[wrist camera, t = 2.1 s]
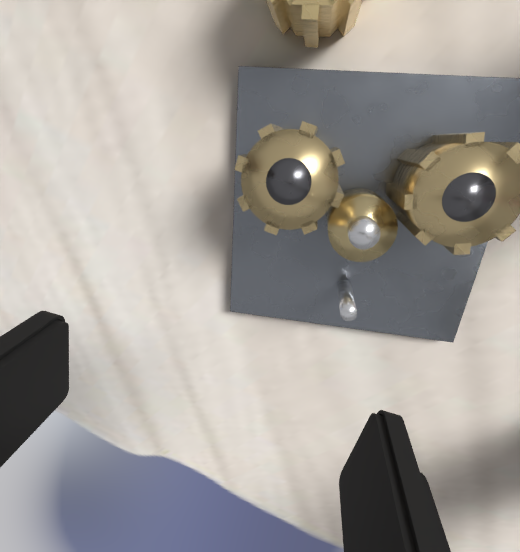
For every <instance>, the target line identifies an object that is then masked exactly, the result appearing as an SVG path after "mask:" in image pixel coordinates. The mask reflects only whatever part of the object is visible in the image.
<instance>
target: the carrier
mask: <svg viewBox="0 0 520 552" xmlns="http://www.w3.org/2000/svg"><path fill="white" fill-rule="evenodd" d="M302 121H304V122H307V123H309V124H312V125H315V126H317V128H318V130H317V133H316V135H315V136H316V137H318V138H319V139H320V140H321V141H323V142H324V143H325V144H326V146H327V147H328V148H329V150H330V149H332V148H334V147H337V148H339V149H340V151H341V154H342V156H343V159H344V162H345V164H343V165H341V166H339V167H337V168H338V178H339V181H338V183H339V184H340V186H341V188H342V191H343V193H344V197H343V199H342V201H341V203H340V206H339V208H335V207H332V206H330V208H329V209H328V211H327V212H326V213H325V214H324V215H323V216H322V217H321V218H320V219H319V220H318V221H317V230H315V231H312V232H310V233H307V234H305V235H304V233H303V231H302V229H301V228H299V229H293V230H284V229H279V231H278V233H277V235H274V234H271V233H269V232H266V231H264V228H265V226H266V223H264V222H262V221H261V220H260V219H259V218H257V217H256V216H255V215H254V214H253V212H252V211H251V210H250V209H248V210H246V211H244V212H243V210H242V208H241V206H240V204H239V202H238V200H237V199H238V198H239V197H241V196H242V195H243V192H242V187H241V173H242V172H239V171H236V170H235V190H234V219H233V248H232V277H231V307H230V311H232V312H239V313H247V314H254V315H261V316H268V317H275V318H282V319H289V320H297V321H304V322H311V323H318V324H325V325H332V326H340V327H347V328H354V329H361V330H368V331H375V332H382V333H390V334H397V335H404V336H411V337H418V338H425V339H432V340H440V341H447V342H453V341H454V338H455V335H456V333H457V330H458V327H459V324H460V321H461V318H462V315H463V312H464V309H465V306H466V303H467V300H468V298H469V295H470V292H471V289H472V286H473V283H474V280H475V277H476V274H477V271H478V268H479V266H480V263H481V260H482V257H483V254H484V251H485V248H486V245H487V242H488V241H487V242H485V243H482V244H479V245H476V246H471V248H470V254H464V255H453V254H452V253H451V252H450V251H448V250H447V249H446V248H445V247H444V246H443V245H441V244H438V243H436V242H434V241H433V240H431V241H430V242H429V243H428V244H427V245H426V246H425V245H424V244H423V243H422V242H421V241H419V240H418V239H417V238H416V237H415V236H414V235H413V234H412V233H411V232H410V231H409V230H408V229H407V228H406V227H405V226H404V225H403V224H402V223H401V222H400V221H399V220H398V219H397V218H396V214H397V213H398V212H399V210H398V208H397V206H396V204H395V202H394V201H393V200H391V199H390V198H389V197H388V196H387V195H386V183H392V182H393V181H394V177H395V175H396V172H397V170H398V168H399V167H400V165H401V164H402V163H401V162H400V161H399V160H398V159H397V158H398V157H399V156H400V155H401V154H402V153H403V152H404V151H405V150H406V149H418V148H420V147H422V146H424V145H426V144H429V143H432V135H440V134H453V133H473V132H485V136H484V142H518V143H519V144H520V78H499V77H476V76H453V75H430V74H407V73H384V72H361V71H338V70H315V69H292V68H269V67H246V66H239V73H238V102H237V131H236V160H235V165H236V162H237V159H238V155H242V154H248V153H249V152H250V150H251V149H252V147H253V146H254V145H255V144H256V143H257V142H258V141H259V140H260V139H261V137H260V135H259V133H258V130H260V129H262V128H264V127H266V126H267V125H269V124H274V125H277V126H280V127H282V128H283V129H298V130H299V129H300V126H301V124H302Z"/></svg>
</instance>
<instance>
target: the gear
mask: <svg viewBox="0 0 520 552" xmlns="http://www.w3.org/2000/svg"><path fill="white" fill-rule="evenodd" d="M266 2H267V4H268V7H269V9H270V12H271V14H272V17H273V20H274V22H275V24H276V26H277V27H278V28H279V30H280V31H281V32H282V34H284V33H285V32H286V31H287V30H288V29H289V28H291V29H292V30H293V32H294V33H295V34H296V36H304V41H305V47H318V44H319V37H330V36H331V35H332V34H333V33H334V32H335V31H336V30H337V29H339V31H340V32H341V34H342V35H343V36H345V35H346V34H347V33H348V32H349V31H350V30H351V29H352V28H353V27H354V26H355V22H356V19H357V16H358V13H359V9H360V6H361V3H362V0H266Z"/></svg>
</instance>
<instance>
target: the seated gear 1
mask: <svg viewBox="0 0 520 552" xmlns="http://www.w3.org/2000/svg"><path fill="white" fill-rule="evenodd" d="M317 130H318V128H317V126H315V125H312V124H309V123H307V122H304V121H302V124H301V126H300V129H299V130H298V129H283V128H282V127H280V126H277V125H274V124H269V125H267V126H266V127H264V128H262V129H260V130H258V133H259V135H260V137H261V139H260V140H259V141H258V142H257V143H256V144H255V145H254V146H253V147H252V149H251V150H250V152H249V153H248V154H242V155H238V159H237V162H236V165H235V169H234V170H236V171H239V172H242V173H241V187H242V192H243V195H242V196H241V197H239V198H238V199H237V200H238V202H239V204H240V206H241V208H242V210H243V212H244V211H246V210H248V209H250V210H251V211H252V212H253V214H254V215H255V216H256V217H257V218H259V219H260V220H261V221H262V222H264V223H266V226H265V228H264V231H266V232H269V233H271V234H274V235H277V233H278V231H279V229H284V230H293V229H299V228H301V229H302V231H303V233H304V235H305V234H307V233H310V232H312V231H315V230H317V221H318V220H319V219H320V218H321V217H322V216H323V215H324V214H325V213H326V212H327V211H328V209H329V208H330V206H332V207H335V208H339V206H340V203H341V201H342V199H343V197H344V193H343V191H342V188H341V186H340V184H339V183H338V181H339V178H338V168H337V167H339V166H341V165H343V164H345V162H344V159H343V156H342V154H341V151H340V149H339V148H337V147H334V148H332V149H330V150H329V148H328V147H327V146H326V144H325V143H324V142H323V141H321V140H320V139H319V138H318V137H316V136H315V135H316V133H317Z"/></svg>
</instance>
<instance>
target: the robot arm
mask: <svg viewBox="0 0 520 552" xmlns="http://www.w3.org/2000/svg"><path fill="white" fill-rule="evenodd" d="M68 390H69V326H68V323H66V322H65V319H64V317H63V316H60V315H57V314H53V313H50V312H47V311H40V312H38V313H37V314H35V315H34V316H32V317H30V318H29V319H27V320H26V321H24V322H23V323H21V324H19V325H18V326H16V327H15V328H13V329H12V330H10V331H8V332H7V333H5V334H4V335H2V336H1V337H0V467H1V466H2V465H3V464H4V463H5V462H6V461H7V460H8V459H9V458H10V457H11V455H12V454H13V453H14V452H15V451H16V450H17V449H18V448H19V447H20V446H21V445H22V444H23V443H24V442H25V441H26V440H27V439H28V437H30V435H31V434H32V433H33V432H34V431H35V430H36V429H37V428H38V427H39V426H40V425H41V424H42V423H43V422H44V421H45V420H46V418H47V417H48V416H49V415H50V414H51V413H52V412H53V411H54V410H55V409H56V408H57V407H58V406H59V405H60V404H61V403H62V402H63V400H64V399H65V398H66V396H67V394H68ZM339 489H340V503H341V517H342V530H343V544H344V552H451V551H450V548H449V545H448V542H447V539H446V536H445V533H444V530H443V527H442V524H441V521H440V518H439V515H438V512H437V509H436V506H435V503H434V499H433V496H432V493H431V490H430V487H429V484H428V482H427V480H426V478H425V476H424V475H423V474H422V473H420V471H419V468H418V465H417V462H416V458H415V455H414V452H413V449H412V446H411V443H410V439H409V436H408V433H407V430H406V427H405V424H404V421H403V418H402V417H401V416H400V415H396V414H393V413H389V412H386V411H383V410H380V411H379V412H378V413H377V414H374V413H372V414H371V415H370V417H369V419H368V421H367V423H366V425H365V427H364V429H363V431H362V433H361V435H360V437H359V439H358V441H357V443H356V444H355V446H354V448H353V450H352V452H351V454H350V456H349V458H348V460H347V462H346V464H345V466H344V468H343V470H342V472H341V475H340V480H339Z"/></svg>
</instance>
